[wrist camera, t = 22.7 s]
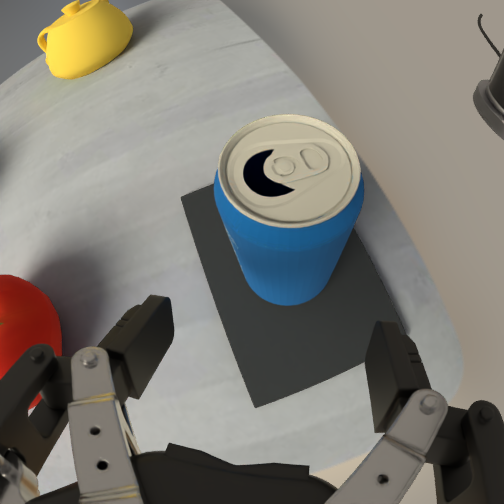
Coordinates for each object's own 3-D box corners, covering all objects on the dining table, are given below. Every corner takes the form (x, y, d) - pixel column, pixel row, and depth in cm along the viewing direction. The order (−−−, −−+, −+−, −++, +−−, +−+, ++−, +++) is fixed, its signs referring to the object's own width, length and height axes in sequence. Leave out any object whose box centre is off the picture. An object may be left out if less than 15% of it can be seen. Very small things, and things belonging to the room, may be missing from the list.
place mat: (182, 200, 26) (180, 196, 26) (307, 154, 27) (307, 150, 26) (255, 407, 20) (254, 408, 19) (405, 339, 20) (408, 338, 20)
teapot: (117, 70, 37) (88, 6, 25) (35, 98, 39) (2, 51, 27) (152, 18, 44) (136, -32, 33) (78, 41, 46) (57, 0, 35)
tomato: (104, 380, 21) (33, 375, 13) (24, 426, 19) (-41, 427, 11) (59, 259, 26) (1, 220, 18) (-9, 318, 24) (-64, 296, 16)
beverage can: (232, 241, 24) (191, 133, 13) (310, 214, 24) (325, 95, 13) (260, 320, 21) (235, 263, 10) (344, 288, 21) (400, 204, 10)
